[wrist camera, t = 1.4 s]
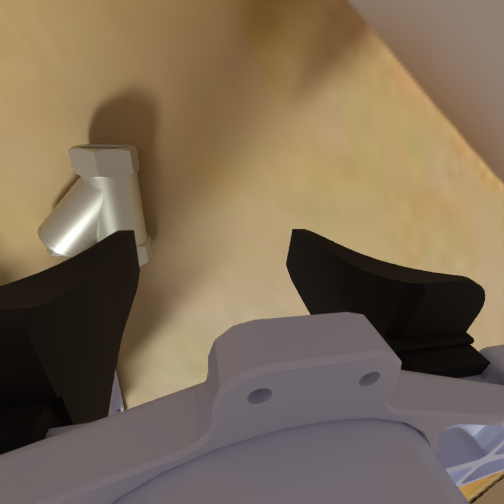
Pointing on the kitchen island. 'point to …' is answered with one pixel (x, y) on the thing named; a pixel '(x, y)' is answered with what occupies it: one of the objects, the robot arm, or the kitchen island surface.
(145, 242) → the pipe fitting
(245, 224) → the kitchen island surface
